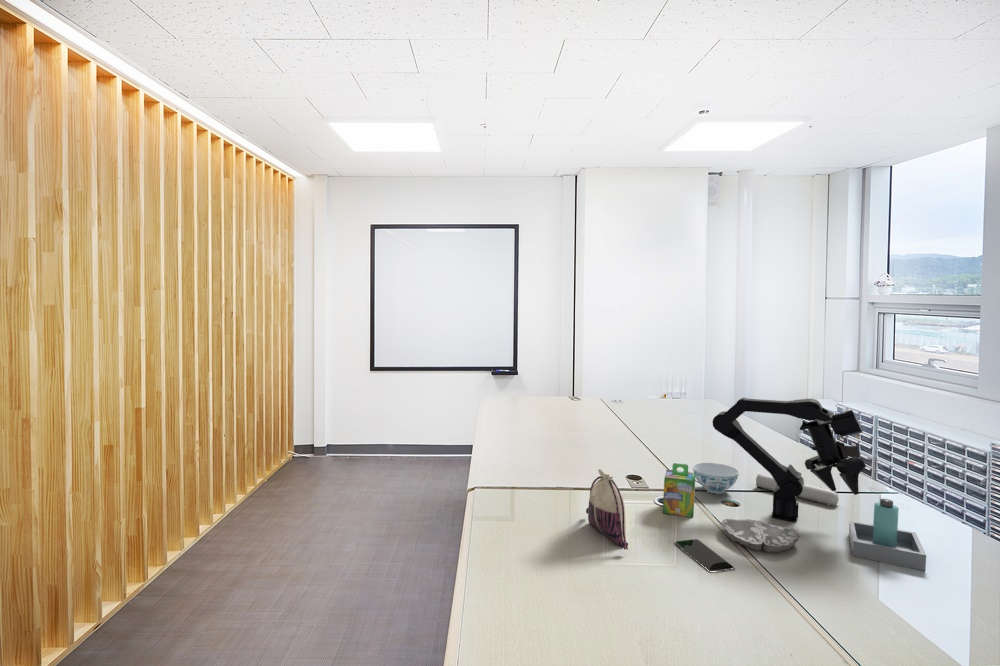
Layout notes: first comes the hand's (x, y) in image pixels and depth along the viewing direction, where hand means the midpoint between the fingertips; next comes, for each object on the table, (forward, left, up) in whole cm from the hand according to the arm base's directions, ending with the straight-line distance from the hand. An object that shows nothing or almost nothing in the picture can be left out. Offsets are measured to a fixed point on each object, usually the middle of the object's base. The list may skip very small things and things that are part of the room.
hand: (845, 492), depth 153 cm
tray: (+9, -11, -11) cm, 18 cm away
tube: (-12, +23, -11) cm, 29 cm away
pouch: (-58, -40, -11) cm, 72 cm away
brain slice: (-20, -22, -11) cm, 32 cm away
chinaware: (-37, +14, -11) cm, 41 cm away
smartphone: (-32, -39, -11) cm, 52 cm away
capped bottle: (+9, -11, -10) cm, 17 cm away
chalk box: (-44, -11, -11) cm, 47 cm away
